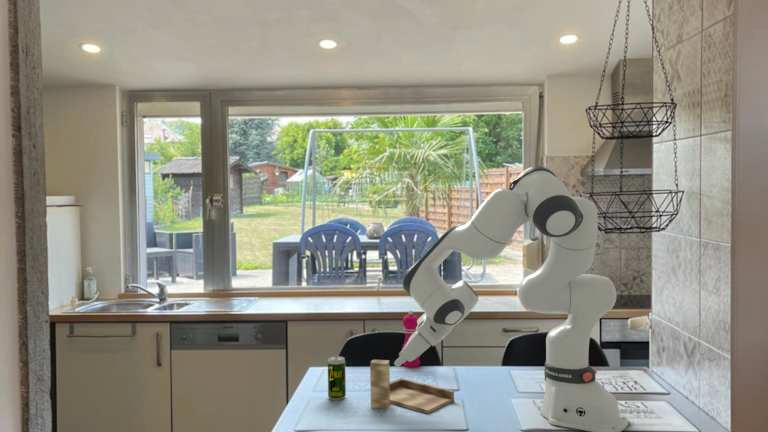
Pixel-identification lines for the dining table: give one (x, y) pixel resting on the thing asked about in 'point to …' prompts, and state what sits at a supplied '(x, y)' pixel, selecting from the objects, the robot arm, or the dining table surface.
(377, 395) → the plank offcut
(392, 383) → the wooden tray
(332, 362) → the beer can
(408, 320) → the pepper mill
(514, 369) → the dining table surface
